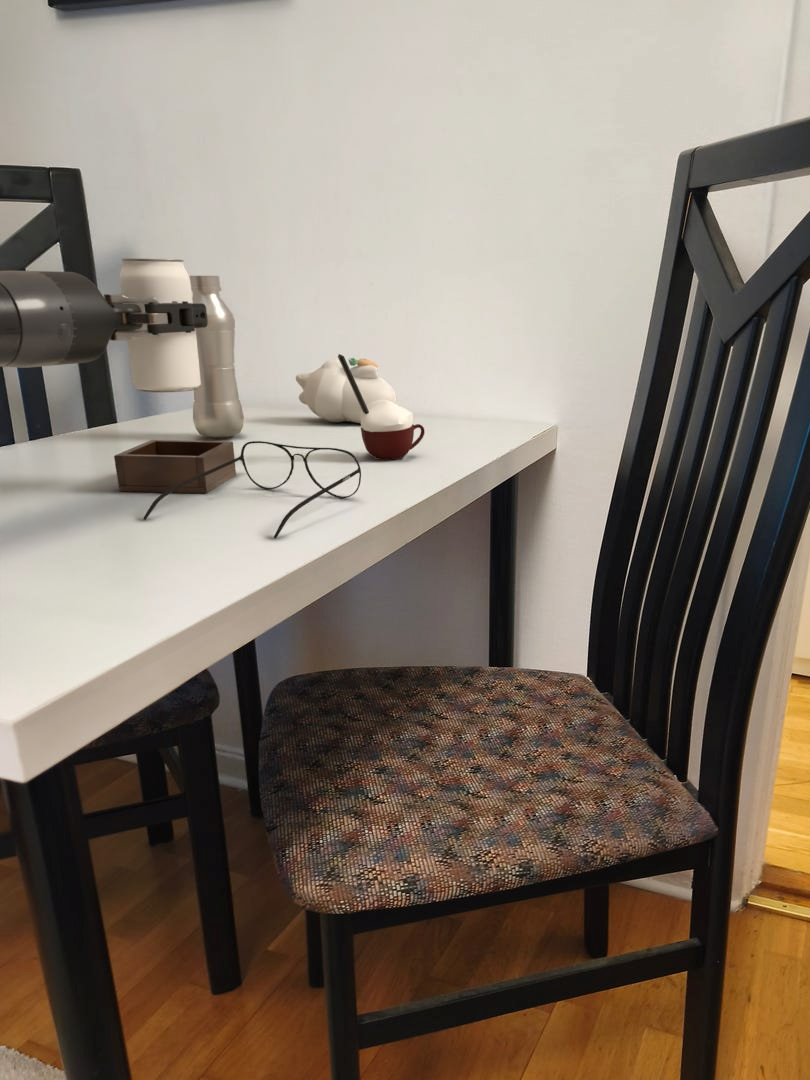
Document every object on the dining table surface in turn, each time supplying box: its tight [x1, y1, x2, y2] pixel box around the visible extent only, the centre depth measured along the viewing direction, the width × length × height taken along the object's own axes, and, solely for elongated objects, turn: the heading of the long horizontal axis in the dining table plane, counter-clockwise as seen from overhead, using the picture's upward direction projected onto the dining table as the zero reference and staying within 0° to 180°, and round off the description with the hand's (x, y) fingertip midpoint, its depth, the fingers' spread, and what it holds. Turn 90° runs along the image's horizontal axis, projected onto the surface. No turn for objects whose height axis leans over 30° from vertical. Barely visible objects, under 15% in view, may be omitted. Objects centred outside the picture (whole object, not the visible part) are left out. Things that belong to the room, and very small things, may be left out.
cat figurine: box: [295, 357, 398, 424], centre depth 130 cm, size 10×8×15 cm
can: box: [119, 258, 201, 393], centre depth 87 cm, size 6×6×12 cm
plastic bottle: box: [189, 275, 245, 439], centre depth 115 cm, size 6×7×20 cm
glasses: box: [142, 440, 362, 539], centre depth 83 cm, size 14×15×5 cm
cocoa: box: [337, 353, 425, 461], centre depth 105 cm, size 10×6×12 cm, turn 88°
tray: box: [113, 439, 237, 494], centre depth 93 cm, size 9×9×4 cm
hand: (175, 314), depth 89 cm, fingers closed on can, 6 cm apart
